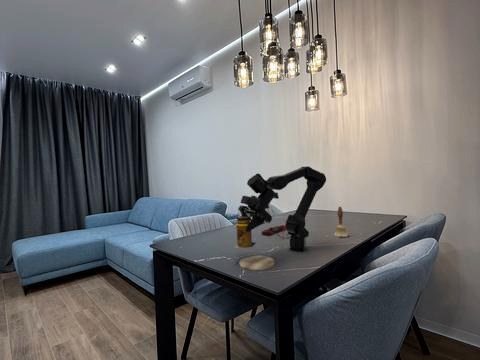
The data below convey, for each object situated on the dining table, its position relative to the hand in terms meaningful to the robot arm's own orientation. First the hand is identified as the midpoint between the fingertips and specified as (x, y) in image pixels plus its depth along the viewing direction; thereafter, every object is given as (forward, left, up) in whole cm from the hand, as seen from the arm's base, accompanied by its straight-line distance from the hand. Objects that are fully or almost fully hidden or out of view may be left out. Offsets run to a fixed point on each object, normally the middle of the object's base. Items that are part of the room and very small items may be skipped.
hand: (242, 229), depth 110 cm
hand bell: (-31, -55, -14) cm, 65 cm away
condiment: (0, -1, -7) cm, 7 cm away
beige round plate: (-6, 0, -13) cm, 15 cm away
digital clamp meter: (-1, -50, -14) cm, 52 cm away
